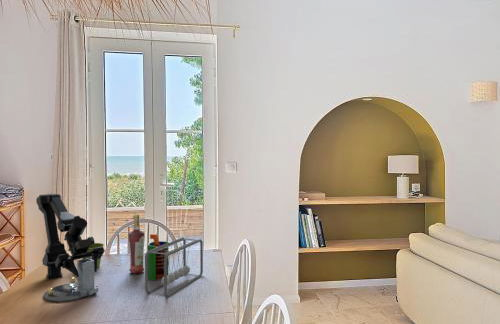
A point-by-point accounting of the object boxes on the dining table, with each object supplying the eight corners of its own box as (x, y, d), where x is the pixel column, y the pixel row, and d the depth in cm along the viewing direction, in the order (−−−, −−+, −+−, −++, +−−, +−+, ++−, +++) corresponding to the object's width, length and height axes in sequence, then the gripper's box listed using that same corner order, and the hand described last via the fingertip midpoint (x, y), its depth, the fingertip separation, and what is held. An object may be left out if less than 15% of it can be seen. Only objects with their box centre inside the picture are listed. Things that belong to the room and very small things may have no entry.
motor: (161, 281, 170) (161, 237, 169) (143, 279, 172) (143, 236, 171) (170, 274, 180) (170, 232, 179) (153, 272, 181) (153, 231, 181)
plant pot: (109, 266, 191) (109, 244, 191) (88, 272, 181) (88, 249, 181) (95, 262, 198) (94, 241, 197) (74, 268, 188) (73, 246, 187)
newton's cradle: (184, 272, 181) (184, 236, 181) (203, 275, 178) (203, 238, 177) (144, 295, 154) (144, 252, 153) (166, 298, 150) (165, 254, 149)
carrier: (43, 289, 159) (43, 280, 159) (92, 282, 169) (91, 273, 169) (44, 305, 143) (44, 295, 143) (97, 296, 152) (97, 286, 152)
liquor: (138, 275, 177) (138, 216, 176) (125, 274, 179) (125, 215, 179) (147, 271, 184) (147, 214, 183) (135, 269, 186) (134, 213, 186)
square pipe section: (70, 292, 154) (69, 260, 153) (91, 286, 161) (91, 256, 160) (79, 298, 148) (79, 265, 147) (101, 291, 155) (101, 260, 154)
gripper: (57, 235, 149) (69, 268, 142) (102, 227, 163) (115, 257, 156) (49, 251, 155) (61, 284, 148) (94, 242, 168) (106, 272, 161)
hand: (87, 274), depth 153 cm, fingers open, 7 cm apart
